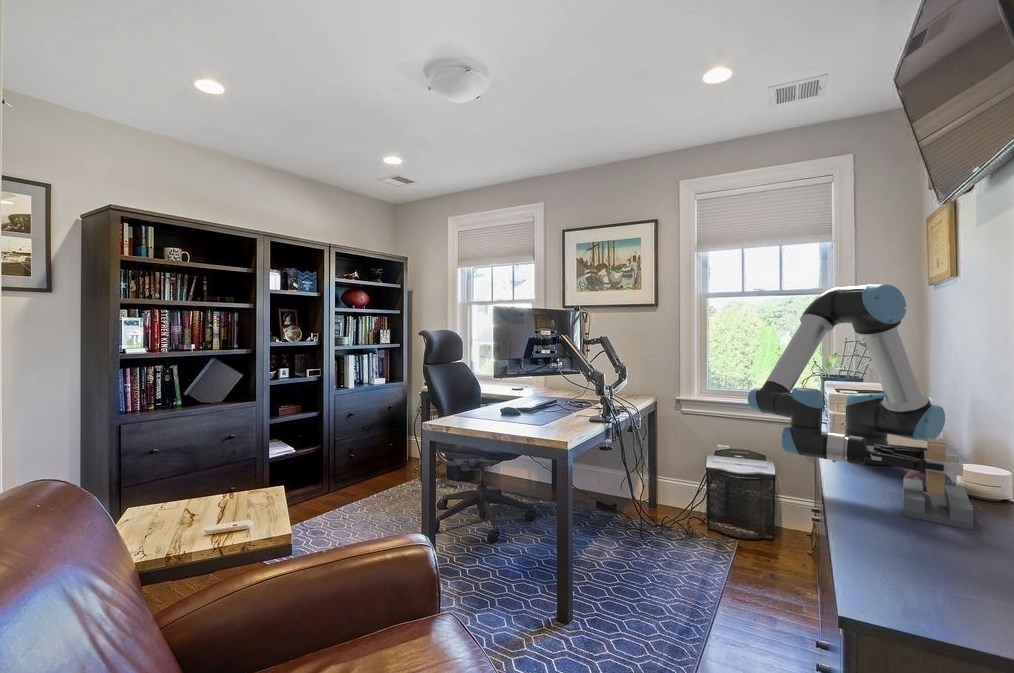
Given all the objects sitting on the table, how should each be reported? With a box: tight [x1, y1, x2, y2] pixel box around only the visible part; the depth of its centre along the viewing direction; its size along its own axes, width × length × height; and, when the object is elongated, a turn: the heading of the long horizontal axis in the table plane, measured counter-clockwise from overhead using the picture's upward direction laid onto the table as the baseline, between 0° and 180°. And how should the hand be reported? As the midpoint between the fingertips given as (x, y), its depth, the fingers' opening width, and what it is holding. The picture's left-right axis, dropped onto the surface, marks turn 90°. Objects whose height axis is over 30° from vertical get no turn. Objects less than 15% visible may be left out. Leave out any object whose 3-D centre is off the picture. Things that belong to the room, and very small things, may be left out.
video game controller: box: [903, 469, 953, 488], centre depth 133 cm, size 10×5×7 cm, turn 63°
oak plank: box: [925, 438, 947, 496], centre depth 116 cm, size 9×3×12 cm, turn 140°
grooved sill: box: [902, 477, 974, 531], centre depth 117 cm, size 20×12×4 cm, turn 140°
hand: (960, 465), depth 113 cm, fingers closed on oak plank, 9 cm apart
